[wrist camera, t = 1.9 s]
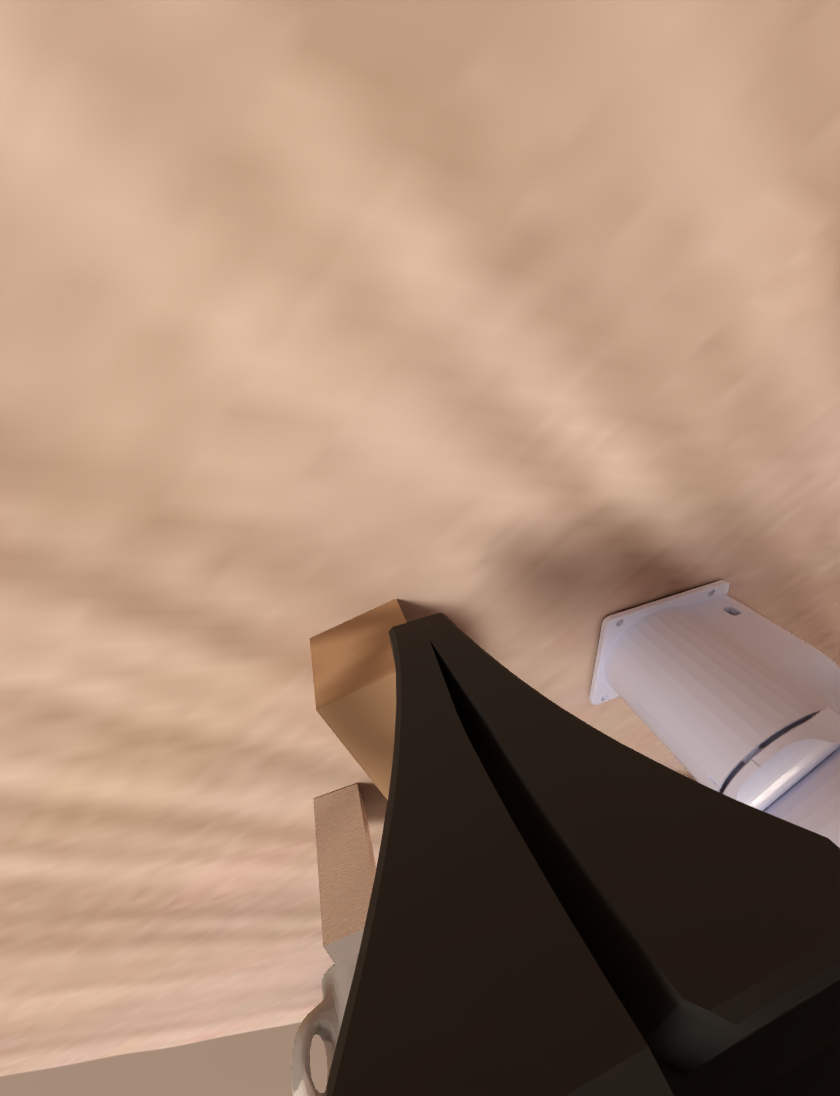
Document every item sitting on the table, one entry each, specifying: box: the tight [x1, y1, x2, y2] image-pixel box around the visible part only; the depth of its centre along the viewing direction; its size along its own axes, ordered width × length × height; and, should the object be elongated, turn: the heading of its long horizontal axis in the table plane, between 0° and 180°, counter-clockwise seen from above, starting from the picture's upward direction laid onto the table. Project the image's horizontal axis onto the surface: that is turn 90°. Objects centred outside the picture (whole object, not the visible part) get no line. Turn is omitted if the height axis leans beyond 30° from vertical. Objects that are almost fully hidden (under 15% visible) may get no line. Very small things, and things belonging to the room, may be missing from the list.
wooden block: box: [310, 599, 407, 800], centre depth 21 cm, size 4×14×5 cm, turn 19°
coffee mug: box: [291, 957, 358, 1096], centre depth 35 cm, size 13×10×10 cm
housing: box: [314, 784, 376, 966], centre depth 24 cm, size 13×3×7 cm, turn 97°
